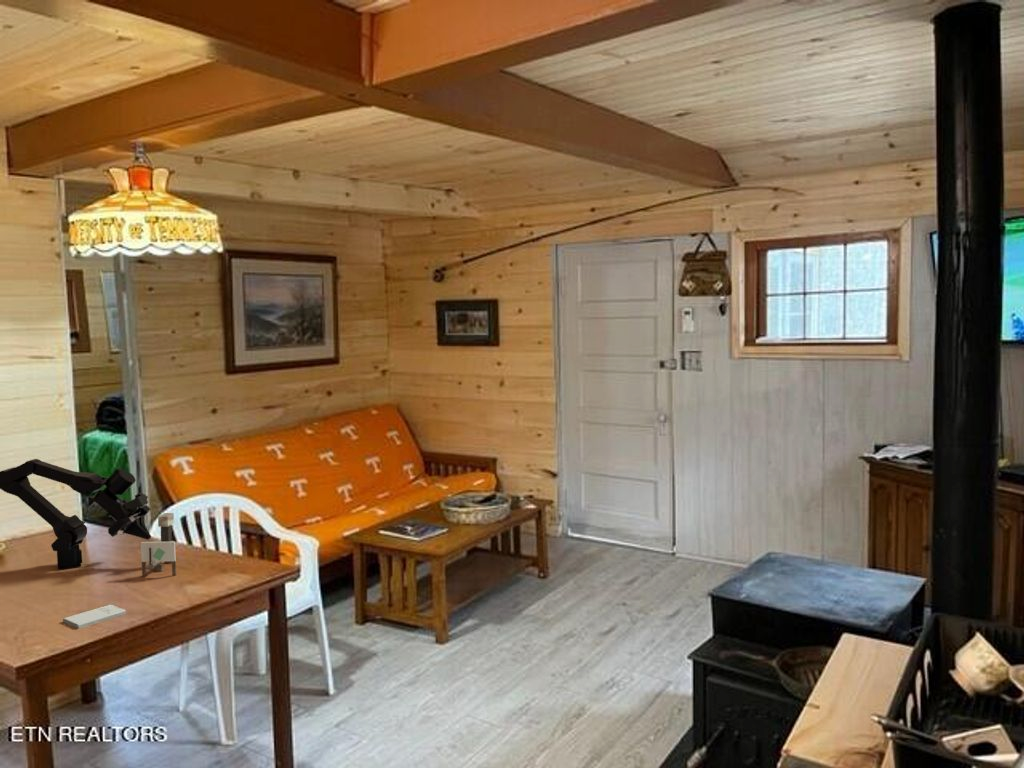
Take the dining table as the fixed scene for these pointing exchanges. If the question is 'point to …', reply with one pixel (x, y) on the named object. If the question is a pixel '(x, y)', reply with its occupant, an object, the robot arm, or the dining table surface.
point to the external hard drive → (94, 616)
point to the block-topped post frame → (163, 533)
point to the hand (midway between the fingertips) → (149, 538)
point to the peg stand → (160, 567)
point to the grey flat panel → (158, 551)
